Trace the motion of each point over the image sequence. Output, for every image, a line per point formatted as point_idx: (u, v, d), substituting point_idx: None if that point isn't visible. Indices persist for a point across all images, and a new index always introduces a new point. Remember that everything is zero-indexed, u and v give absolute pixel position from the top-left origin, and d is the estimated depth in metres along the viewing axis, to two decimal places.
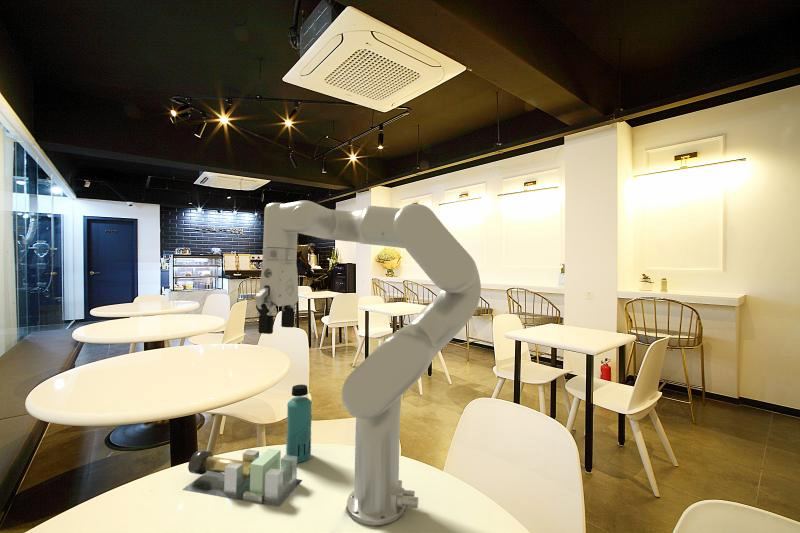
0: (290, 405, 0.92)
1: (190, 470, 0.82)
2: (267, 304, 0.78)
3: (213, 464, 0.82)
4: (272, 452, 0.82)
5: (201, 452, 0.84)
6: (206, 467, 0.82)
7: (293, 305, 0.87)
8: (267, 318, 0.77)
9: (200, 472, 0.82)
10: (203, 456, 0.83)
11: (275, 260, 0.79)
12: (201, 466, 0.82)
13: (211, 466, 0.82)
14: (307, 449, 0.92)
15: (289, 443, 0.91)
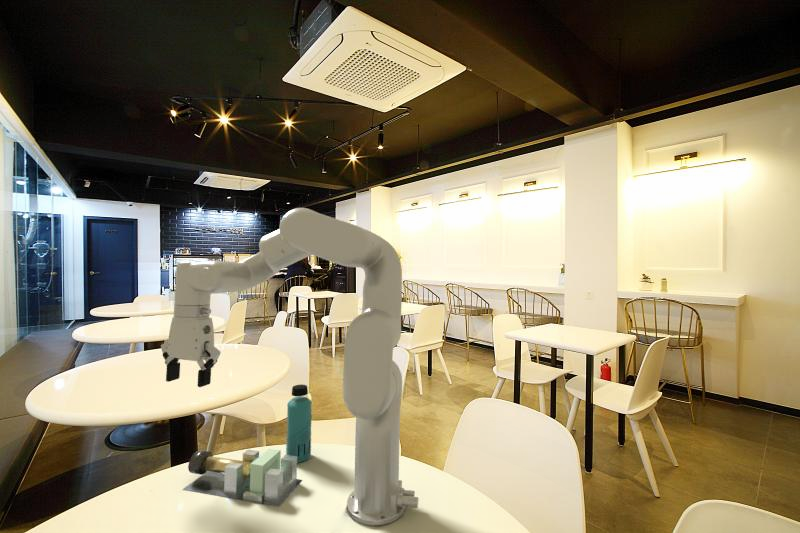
0: (290, 405, 0.92)
1: (190, 470, 0.82)
2: (203, 358, 0.84)
3: (213, 464, 0.82)
4: (272, 452, 0.82)
5: (201, 452, 0.84)
6: (206, 467, 0.82)
7: None
8: None
9: (200, 472, 0.82)
10: (203, 456, 0.83)
11: (207, 316, 0.86)
12: (201, 466, 0.82)
13: (211, 466, 0.82)
14: (307, 449, 0.92)
15: (289, 443, 0.91)
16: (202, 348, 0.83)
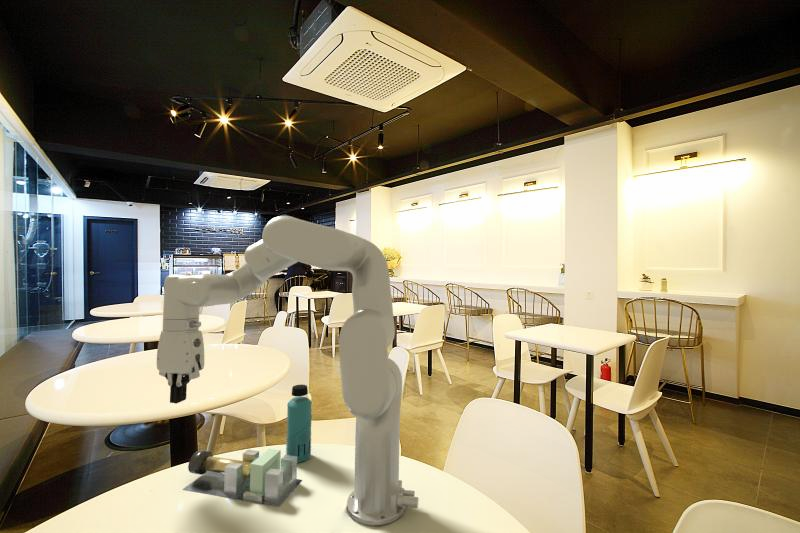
0: (290, 405, 0.92)
1: (190, 470, 0.82)
2: None
3: (213, 464, 0.82)
4: (272, 452, 0.82)
5: (201, 452, 0.84)
6: (206, 467, 0.82)
7: None
8: None
9: (200, 472, 0.82)
10: (203, 456, 0.83)
11: (196, 329, 0.86)
12: (201, 466, 0.82)
13: (211, 466, 0.82)
14: (307, 449, 0.92)
15: (289, 443, 0.91)
16: (193, 361, 0.84)
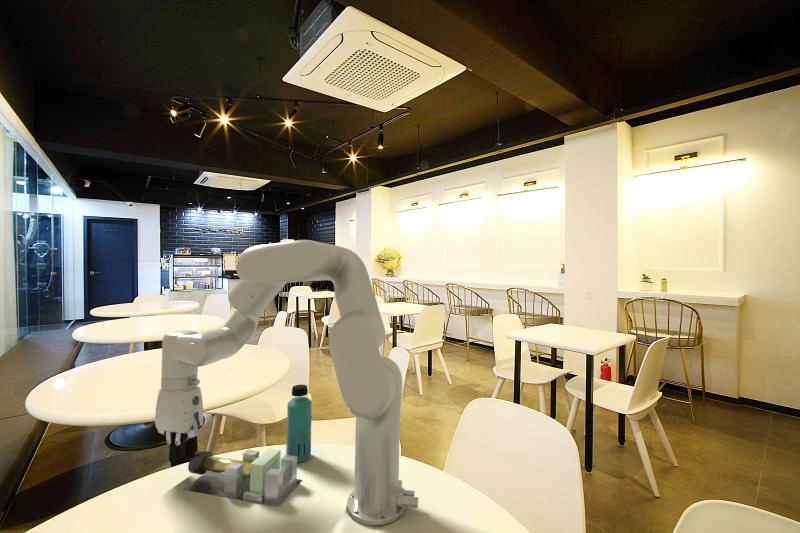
0: (290, 405, 0.92)
1: (190, 470, 0.82)
2: None
3: (213, 464, 0.82)
4: (272, 452, 0.82)
5: (201, 452, 0.84)
6: (206, 467, 0.82)
7: None
8: None
9: (200, 472, 0.82)
10: (203, 456, 0.83)
11: (195, 386, 0.86)
12: (201, 466, 0.82)
13: (211, 466, 0.82)
14: (307, 449, 0.92)
15: (289, 443, 0.91)
16: (192, 420, 0.83)
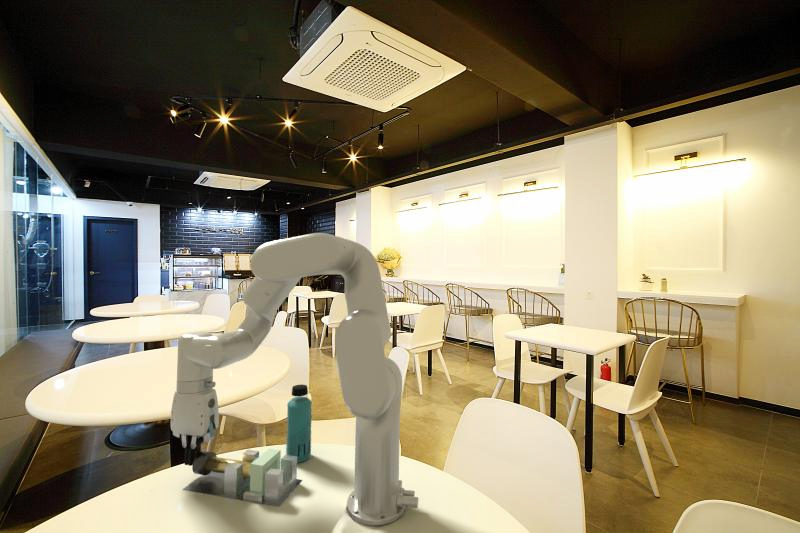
0: (290, 405, 0.92)
1: (194, 471, 0.82)
2: None
3: (217, 465, 0.81)
4: (272, 452, 0.82)
5: (205, 453, 0.84)
6: (210, 468, 0.82)
7: None
8: None
9: (204, 472, 0.82)
10: (207, 457, 0.83)
11: (211, 389, 0.85)
12: (205, 467, 0.82)
13: (215, 467, 0.81)
14: (307, 449, 0.92)
15: (289, 443, 0.91)
16: (208, 423, 0.82)
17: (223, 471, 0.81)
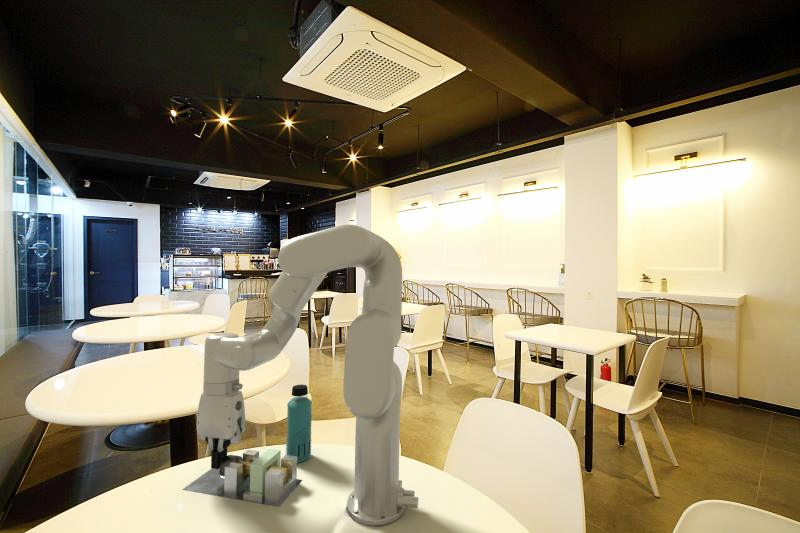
0: (290, 405, 0.92)
1: (221, 475, 0.80)
2: None
3: (245, 469, 0.80)
4: (272, 452, 0.82)
5: (232, 457, 0.82)
6: None
7: None
8: None
9: None
10: (234, 461, 0.81)
11: (237, 391, 0.83)
12: None
13: (243, 471, 0.80)
14: (307, 449, 0.92)
15: (289, 443, 0.91)
16: (235, 426, 0.81)
17: None
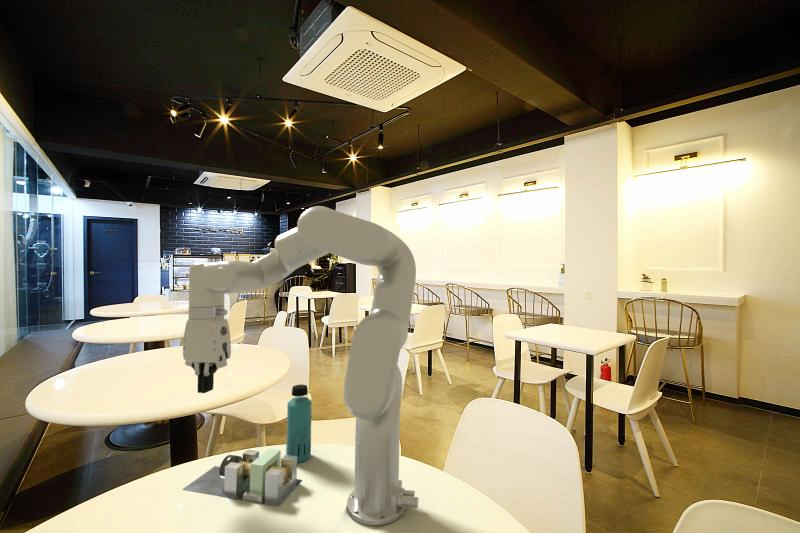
0: (290, 405, 0.92)
1: (221, 475, 0.80)
2: None
3: (245, 469, 0.80)
4: (272, 452, 0.82)
5: (232, 457, 0.82)
6: None
7: None
8: None
9: None
10: (234, 461, 0.81)
11: (222, 317, 0.85)
12: None
13: (243, 471, 0.80)
14: (307, 449, 0.92)
15: (289, 443, 0.91)
16: (220, 349, 0.82)
17: None
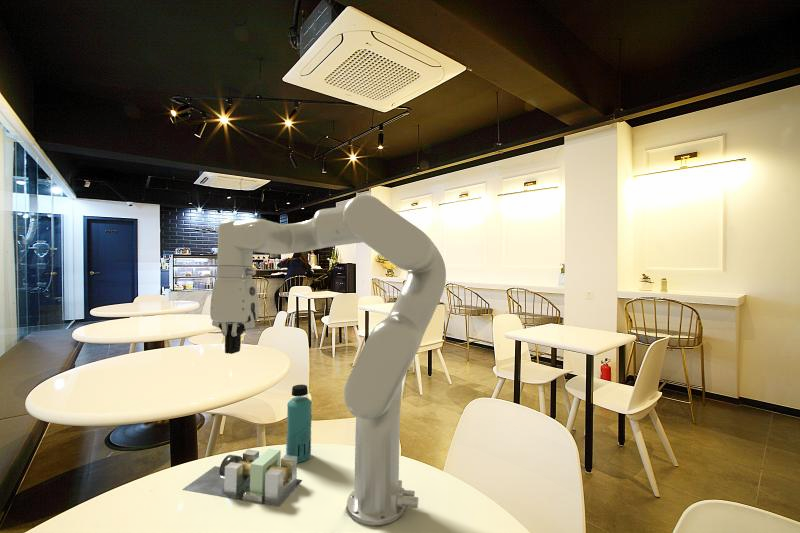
0: (290, 405, 0.92)
1: (221, 475, 0.80)
2: None
3: (245, 469, 0.80)
4: (272, 452, 0.82)
5: (232, 457, 0.82)
6: None
7: None
8: None
9: None
10: (234, 461, 0.81)
11: (250, 278, 0.83)
12: None
13: (243, 471, 0.80)
14: (307, 449, 0.92)
15: (289, 443, 0.91)
16: (249, 309, 0.81)
17: None
